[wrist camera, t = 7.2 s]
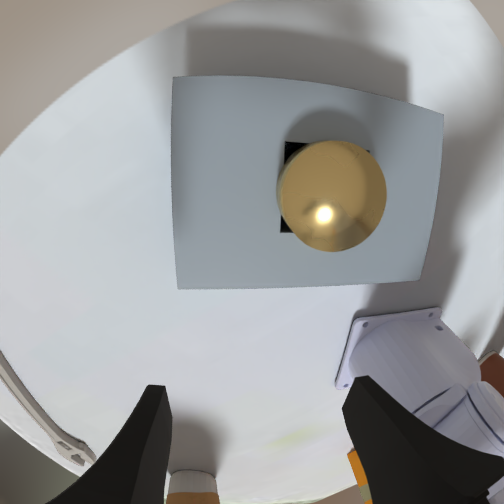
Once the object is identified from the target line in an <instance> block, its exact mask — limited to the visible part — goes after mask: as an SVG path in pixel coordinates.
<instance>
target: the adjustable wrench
mask: <svg viewBox="0 0 504 504" xmlns="http://www.w3.org/2000/svg"><path fill="white" fill-rule="evenodd" d="M0 379H1V380H2V382H3V383H4V384H5V386H6V387H7V388H8V390H9V391H10V392H11V394H12V395H13V396H14V397H15V399H16V400H17V401H18V402H19V403H20V405H21V406H22V407H23V408H24V409H25V411H26V412H27V413H28V414H29V415H30V416H31V417H32V418H33V420H34V421H35V422H36V423H37V424H38V425H39V426H40V427H41V428H42V429H43V430H44V431H45V432H46V433H47V435H48V436H49V437H50V438H51V440H52V442H53V443H54V445H55V447H56V449H57V451H58V452H59V454H61V455H62V456H63V457H64V458H66V459H67V460H69V461H71V462H73V463H75V464H77V465H79V466H84V463H85V461H87V462H88V463H90V464H92V465H93V464H94V463H95V462H96V455H95V454H94V453H93V452H92V451H91V450H90V449H89V448H88V445H86V444H83V443H81V442H79V441H77V440H75V439H73V438H72V437H70V436H68V435H67V434H66V433H64V432H63V431H62V430H61V429H60V428H59V427H58V426H57V425H56V424H55V423H54V422H53V421H52V420H51V418H50V417H49V416H48V415H47V414H46V413H45V412H44V410H43V409H42V408H41V407H40V406H39V404H38V403H37V402H36V401H35V399H34V398H33V397H32V396H31V394H30V393H29V392H28V390H27V389H26V388H25V386H24V385H23V384H22V382H21V381H20V380H19V378H18V377H17V375H16V374H15V373H14V371H13V370H12V368H11V367H10V365H9V364H8V362H7V361H6V359H5V358H4V356H3V354H2V353H1V351H0ZM76 454H80V455H81V456H80V457H79V456H78V455H76Z"/></svg>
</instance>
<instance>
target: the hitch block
mask: <svg viewBox="0 0 504 504" xmlns="http://www.w3.org/2000/svg"><path fill="white" fill-rule="evenodd" d="M443 126H444V115H443V114H440V113H438V112H435V111H432V110H429V109H426V108H423V107H420V106H417V105H413V104H410V103H407V102H403V101H400V100H396V99H393V98H389V97H385V96H381V95H377V94H373V93H369V92H364V91H360V90H355V89H350V88H345V87H340V86H334V85H328V84H322V83H315V82H308V81H300V80H292V79H282V78H270V77H254V76H183V77H173V89H172V115H171V188H172V216H173V235H174V250H175V264H176V276H177V287H178V289H257V288H292V287H318V286H340V285H358V284H375V283H390V282H404V281H418V280H420V276H421V273H422V269H423V265H424V261H425V257H426V253H427V248H428V244H429V239H430V234H431V229H432V224H433V219H434V213H435V207H436V201H437V194H438V187H439V179H440V170H441V159H442V146H443ZM324 140H330V141H345V142H349V143H353V144H355V145H358V146H360V147H361V148H363V149H365V150H366V151H367V152H368V153H370V154H371V155H372V156H373V157H374V159H375V160H376V161H377V163H378V164H379V166H380V168H381V170H382V172H383V175H384V177H385V182H386V188H387V200H386V206H385V210H384V213H383V216H382V219H381V221H380V223H379V224H378V226H377V227H376V229H375V230H374V231H373V233H372V234H371V235H370V236H369V237H368V238H367V239H366V240H364V241H363V242H362V243H360V244H359V245H357V246H355V247H353V248H351V249H348V250H344V251H339V252H325V251H320V250H316V249H314V248H312V247H310V246H308V245H306V244H305V243H303V242H302V241H301V240H300V239H299V238H298V237H297V236H296V235H295V234H294V233H293V231H292V230H291V229H290V227H289V226H288V225H287V223H286V222H285V221H284V219H283V217H282V215H281V214H280V211H279V208H278V205H277V200H276V185H277V179H278V176H279V173H280V171H281V169H282V167H283V165H284V148H285V142H289V143H302V144H309V143H312V142H316V141H324Z"/></svg>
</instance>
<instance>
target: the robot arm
mask: <svg viewBox="0 0 504 504" xmlns="http://www.w3.org/2000/svg"><path fill="white" fill-rule="evenodd" d="M441 313H442V309H441V308H439V307H436V308H429V309H423V310H416V311H409V312H402V313H395V314H387V315H379V316H370V317H361V318H357V319H356V320H355V321H354V322H353V324H352V328H351V332H350V336H349V339H348V343H347V347H346V350H345V354H344V357H343V360H342V364H341V367H340V370H339V373H338V377H337V380H336V383H335V387H336V389H337V390H341V389H347V388H350V391H349V393H348V395H347V398H346V400H345V402H344V405H343V407H342V411H343V415H344V419H345V423H346V427H347V430H348V433H349V435H350V438H351V440H352V443H353V445H354V447H355V450H356V452H357V455H358V457H359V459H360V462H361V464H362V467H363V469H364V472H365V475H366V478H367V482H368V486H369V490H370V494H371V499H372V503H373V504H504V398H503V397H502V396H501V394H500V393H499V392H498V391H497V390H496V389H495V388H493V387H492V386H491V385H490V384H489V383H487V382H485V381H481V371H480V366H479V363H478V361H477V358H476V357H475V355H474V354H473V352H472V351H471V350H470V349H469V348H468V347H467V346H466V345H465V344H464V343H463V342H462V341H461V340H460V339H459V338H458V337H457V336H456V335H455V334H454V332H453V331H452V330H451V329H450V328H449V327H448V326H447V325H446V324H445V323H444V322H443V321H442V320H441V319H440V316H441ZM365 322H366V323H365ZM364 323H365V324H364ZM363 324H364V325H363ZM171 438H172V413H171V409H170V405H169V401H168V397H167V392H166V387H165V386H161V385H148V386H147V387H146V389H145V391H144V393H143V394H142V396H141V398H140V400H139V402H138V403H137V405H136V407H135V408H134V410H133V412H132V413H131V415H130V417H129V418H128V420H127V421H126V423H125V424H124V426H123V427H122V429H121V430H120V432H119V433H118V434H117V436H116V437H115V439H114V440H113V441H112V443H111V444H110V445H109V447H108V448H107V449H106V450H105V452H104V453H103V454H102V455H101V456H100V457H99V459H98V460H97V461H96V462H95V463H94V464H93V465H92V466H91V467H90V468H89V469H88V470H87V471H86V472H85V473H84V474H83V475H82V476H81V477H80V478H79V479H78V480H77V481H76V482H75V483H73V484H72V485H71V486H70V487H68V488H67V489H66V490H65V491H63V492H62V493H61V494H60V495H58V496H57V497H55V498H54V499H52V500H51V501H49V502H47V503H46V504H164V486H165V479H166V472H167V466H168V459H169V453H170V446H171Z"/></svg>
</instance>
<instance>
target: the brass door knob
mask: <svg viewBox="0 0 504 504" xmlns="http://www.w3.org/2000/svg"><path fill="white" fill-rule="evenodd" d="M276 200H277V205H278V208H279V211H280V214H281V215H282V217H283V219H284V221H285V222H286V223H287V225H288V226H289V227H290V229H291V230H292V231H293V233H294V234H295V235H296V236H297V237H298V238H299V239H300V240H301V241H302V242H303V243H305V244H306V245H308V246H310V247H312V248H314V249H316V250H320V251H325V252H339V251H344V250H348V249H351V248H353V247H355V246H357V245H359V244H360V243H362V242H363V241H364V240H366V239H367V238H368V237H369V236H370V235H371V234H372V233H373V231H374V230H375V229H376V227H377V226H378V224H379V223H380V221H381V219H382V216H383V213H384V210H385V206H386V200H387V188H386V182H385V177H384V175H383V172H382V170H381V168H380V166H379V164H378V163H377V161H376V160H375V159H374V157H373V156H372V155H371V154H370V153H368V152H367V151H366V150H365V149H363V148H361V147H360V146H358V145H355V144H353V143H349V142H345V141H330V140H324V141H316V142H312V143H309V144H306V145H304V146H302V147H301V148H299V149H298V150H296V151H295V152H294V153H293V154H292V155H291V156H290V157H289V158H288V159H287V160H286V162H285V163H284V165H283V167H282V169H281V171H280V173H279V176H278V179H277V185H276Z"/></svg>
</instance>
